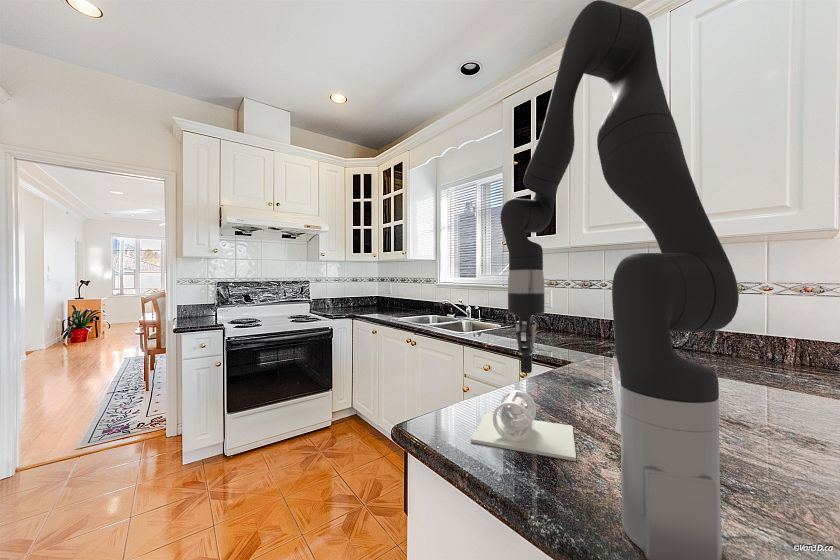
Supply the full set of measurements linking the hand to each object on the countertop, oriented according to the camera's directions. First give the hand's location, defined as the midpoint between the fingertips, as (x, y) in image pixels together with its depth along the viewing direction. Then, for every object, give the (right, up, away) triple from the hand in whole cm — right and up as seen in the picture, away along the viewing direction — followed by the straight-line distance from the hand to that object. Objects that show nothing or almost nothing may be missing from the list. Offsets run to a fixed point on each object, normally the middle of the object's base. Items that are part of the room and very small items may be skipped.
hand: (526, 372), depth 72 cm
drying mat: (-2, -11, -6) cm, 13 cm away
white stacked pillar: (0, -7, +3) cm, 8 cm away
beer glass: (+20, -11, -5) cm, 23 cm away
